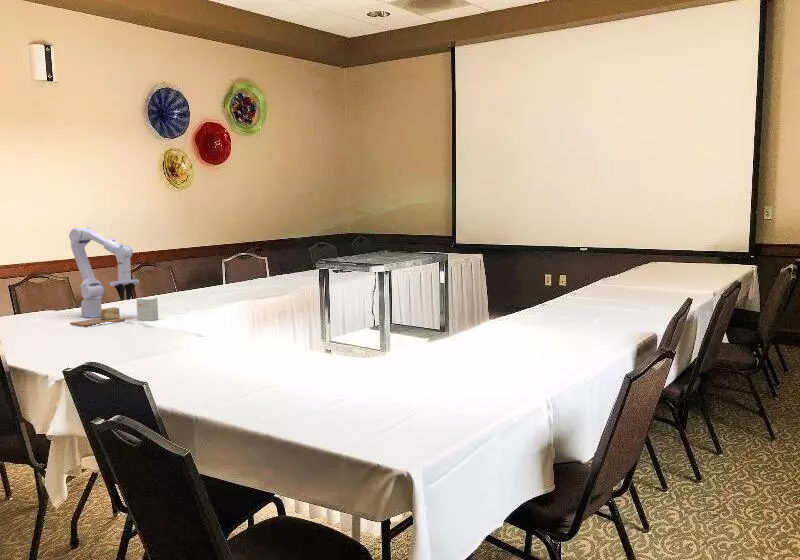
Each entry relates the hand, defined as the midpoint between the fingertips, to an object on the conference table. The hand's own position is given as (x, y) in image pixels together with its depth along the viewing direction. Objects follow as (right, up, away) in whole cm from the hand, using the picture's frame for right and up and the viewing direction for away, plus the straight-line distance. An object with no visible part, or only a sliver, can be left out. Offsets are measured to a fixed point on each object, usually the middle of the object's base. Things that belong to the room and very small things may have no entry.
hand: (125, 299), depth 317 cm
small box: (+11, -10, -1) cm, 15 cm away
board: (-8, -11, -12) cm, 18 cm away
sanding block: (-4, -9, -6) cm, 12 cm away
